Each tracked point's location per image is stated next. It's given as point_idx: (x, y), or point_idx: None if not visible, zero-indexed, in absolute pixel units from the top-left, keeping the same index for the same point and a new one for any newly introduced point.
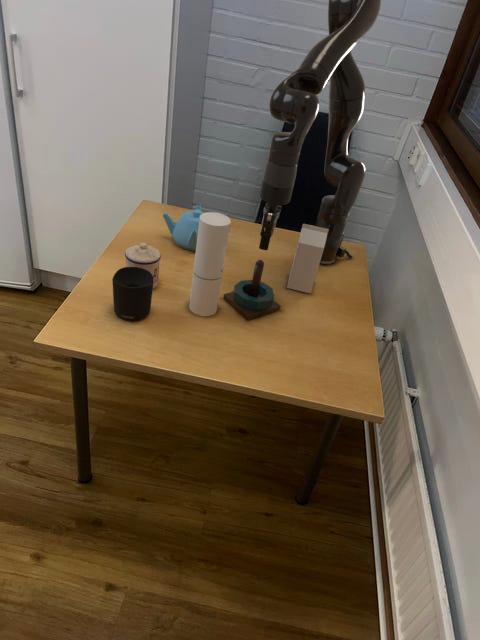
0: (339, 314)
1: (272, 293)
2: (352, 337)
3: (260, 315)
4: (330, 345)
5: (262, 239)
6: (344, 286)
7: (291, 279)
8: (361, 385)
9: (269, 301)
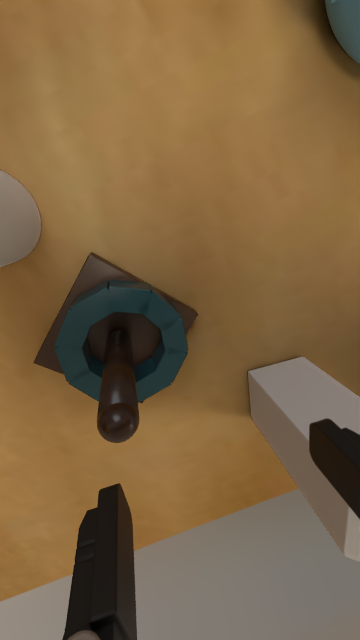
0: (207, 482)
1: (145, 394)
2: (144, 523)
3: None
4: None
5: (69, 605)
6: None
7: (260, 391)
8: (10, 580)
9: None
